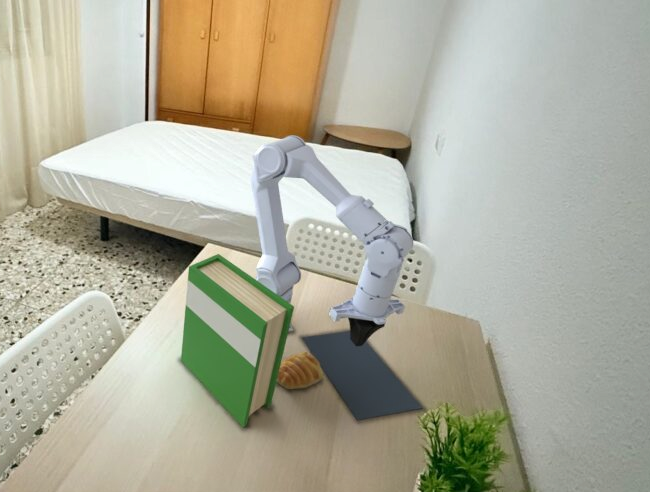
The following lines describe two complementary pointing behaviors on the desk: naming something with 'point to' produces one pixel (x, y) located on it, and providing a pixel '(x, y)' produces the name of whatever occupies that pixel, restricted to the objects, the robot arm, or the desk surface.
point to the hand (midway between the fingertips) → (356, 342)
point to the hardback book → (234, 335)
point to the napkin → (360, 376)
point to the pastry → (299, 371)
